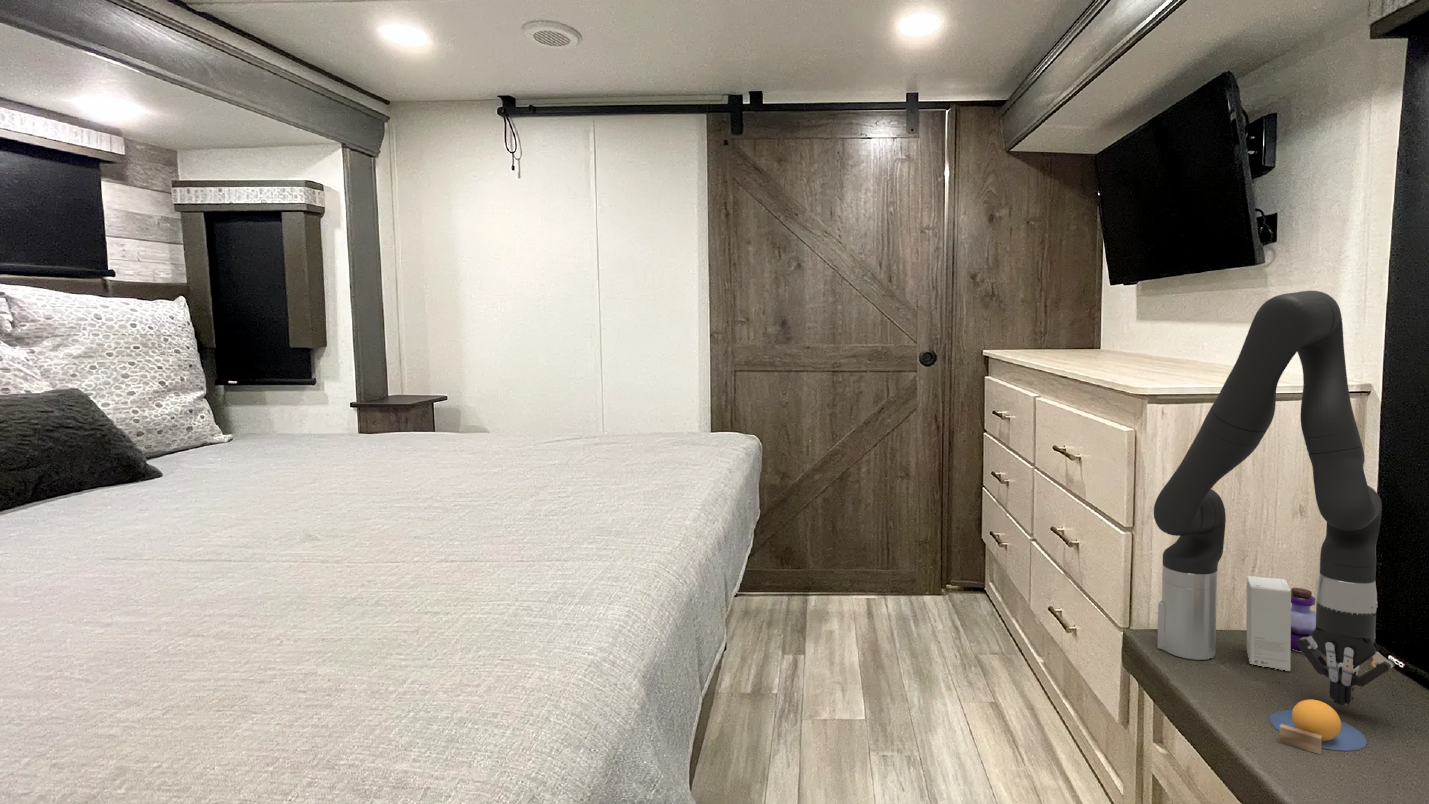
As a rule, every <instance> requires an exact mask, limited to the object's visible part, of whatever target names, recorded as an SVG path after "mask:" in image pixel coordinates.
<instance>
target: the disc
mask: <svg viewBox="0 0 1429 804" xmlns="http://www.w3.org/2000/svg"><path fill="white" fill-rule="evenodd" d="M1292 711H1293V709H1286V710H1285V709H1284V710H1278V711H1276V712H1273V713H1272V714H1271V715H1270V716H1269V721H1270V724H1271V725H1272V726H1273V727H1274V729H1275V730H1277V731H1278V732H1279V730H1280V725H1281V724H1283V725H1287V726H1290V727H1294V728H1296V726H1295V724H1294V722H1293V719H1292ZM1340 721H1341V730H1340V732H1339V734H1338V735H1337V736H1336V737H1335V738H1333V739H1331V740H1328V741H1322V748H1321V749H1324V750H1329V751H1337V752H1355V751H1360V750H1362V749H1364V748H1365V747H1366V746H1367V738H1366V736H1365V735H1364V734H1363V733H1362V732H1361V731H1360V730H1358V729H1357V728H1355V727H1353V726H1352V725H1350V724H1348V723H1346V722H1344V721H1342V720H1340Z"/></svg>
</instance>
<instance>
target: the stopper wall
mask: <svg viewBox="0 0 1429 804" xmlns="http://www.w3.org/2000/svg"><path fill="white" fill-rule="evenodd" d="M1278 732H1279V733H1278V734H1279V735H1278V737H1279V738H1278V742H1279V743H1280V744H1283V745H1287V746H1292V747H1294V748H1298V749H1300V750H1304V751H1307V752H1310V753H1314V754H1317V755H1321V753H1322V749H1323V748H1322V736H1321V735H1318V734H1314V733H1311V732H1308V731H1304V730H1301V729H1297V728H1294V727H1290V726H1287V725H1283V724H1281V725H1280V730H1279V731H1278Z"/></svg>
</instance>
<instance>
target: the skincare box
mask: <svg viewBox="0 0 1429 804" xmlns="http://www.w3.org/2000/svg"><path fill="white" fill-rule="evenodd" d="M1291 605H1292V603H1291V588H1290V586H1289V584H1288V582H1287V580H1286V579H1285V578H1284V579H1282V578H1275V577H1273V578H1272V577H1262V576H1253V575H1247V576H1246V654H1248V655H1247V657H1248V658H1249V659H1248V658H1247V659H1248V662H1249V664H1254V665H1258V666H1262V667H1261V668H1264V667H1270V668H1275V669H1274V670H1277V669H1279V670H1278V671H1283V670H1285V672H1291V651H1292V650H1291ZM1258 666H1257V667H1258ZM1270 668H1269V669H1270Z"/></svg>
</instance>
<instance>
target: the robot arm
mask: <svg viewBox="0 0 1429 804" xmlns="http://www.w3.org/2000/svg"><path fill="white" fill-rule="evenodd" d="M1341 312H1342V311H1341V308H1340V306H1339V304H1338V302H1337V301H1336V300H1335V299H1334V298H1333V297H1332V296H1331V295H1329V294H1328V293H1326V292H1323V291H1319V290H1302V291H1297V292H1296V291H1295V292H1289V293H1283V294H1278V295H1275V296H1273V297H1271V298H1270V299H1268V300H1266V301H1265V302H1264V303H1263V304H1262V305H1261V306H1260V307H1259V308H1258V310H1257V312H1256V313H1255V315H1254V317H1253V320H1252V321H1251V323H1250V327H1249V329H1248V332H1247V334H1246V337H1245V339H1244V342H1243V344H1242V347H1241V350H1240V352H1239V355H1238V357H1237V358H1236V361H1235V364H1234V365H1233V367H1232V369H1231V371H1230V373H1229V375H1228V376H1227V377H1226V380H1225V382H1224V384H1223V386H1222V388H1221V389H1220V391H1219V393H1218V395H1217V397H1216V398H1215V399H1214V402H1213V404H1212V405H1211V407H1210V408H1209V409H1208V412H1207V414H1206V416H1205V418H1204V420H1203V422H1202V424H1201V426H1200V428H1199V430H1198V432H1197V434H1196V436H1195V438H1194V440H1193V441H1192V443H1191V444H1190V447H1189V448H1188V449H1187V452H1186V454H1185V456H1184V457H1183V458H1182V460H1181V463H1180V464H1179V465H1178V467H1177V468H1176V470H1175V471H1174V473H1173V474H1172V476H1171V477H1170V478H1169V480H1168V481H1167V482H1166V484H1165V485H1164V486H1163V488H1162V489H1161V491H1160V492H1159V494H1158V496H1157V498H1156V499H1155V502H1154V506H1153V518H1154V521H1155V524H1156V526H1157V528H1158V529H1159V530H1160V531H1162V532H1163V533H1165V534H1167V535H1170V536H1175V537H1178V538H1177V539H1176V541H1175V542H1174V543H1173V544H1171V545H1170V546H1168V547H1167V548H1165V550H1163V552H1162V566H1161V567H1162V569H1161V570H1162V572H1161V578H1162V579H1161V581H1162V582H1161V600H1160V601H1159V602H1158V604H1157V605H1158V606H1157V649H1159V650H1163V651H1164V652H1166V653H1168V654H1170V655H1173V656H1175V657H1179V658H1183V659H1188V660H1194V661H1195V660H1196V661H1198V660H1199V661H1202V660H1204V661H1206V660H1210V658H1211V659H1213V658H1215V656H1216V646H1217V645H1216V644H1217V643H1216V635H1217V634H1216V633H1217V605H1218V604H1217V602H1218V599H1217V598H1218V565H1219V561H1221V559H1222V556H1223V552H1224V544H1225V535H1226V520H1227V519H1226V517H1227V515H1226V507H1225V504H1224V501H1223V499H1222V497H1221V496H1220V495H1219V493H1217V492H1216V490H1214V489H1212V488H1213V487H1214V486H1215V485H1216V484H1217V483H1218V482H1219V481H1220V480H1221V479H1223V478H1224V477H1225V476H1226V475H1227V474H1228V473H1230V472H1231V471H1233V470H1234V469H1236V467H1237V466H1239V465H1240V464H1241V463H1243V462H1244V461H1245V460H1246V459H1247V458H1248V457H1250V455H1251V454H1252V453H1253V452H1254V451H1255V450H1256V449H1257V447H1258V445H1260V443H1261V441H1262V439H1263V438H1264V436H1265V434H1266V433H1267V431H1268V429H1269V428H1270V426H1271V424H1272V422H1273V419H1274V417H1275V416H1274V415H1275V413H1276V406H1277V405H1276V403H1277V402H1276V399H1277V387H1278V384H1279V381H1280V379H1281V377H1282V375H1283V374H1284V371H1285V370H1286V369H1287V367H1288V365H1289V364H1290V362H1291V361H1292V360H1293V358H1294V356H1295V355H1296V354H1298V357H1299V360H1300V363H1301V367H1302V368H1301V369H1302V376H1303V377H1302V378H1303V379H1302V381H1303V383H1302V386H1303V387H1302V388H1303V389H1302V397H1301V402H1300V403H1301V404H1300V427H1301V431H1302V436H1303V439H1304V444H1305V446H1306V447H1305V448H1306V451H1307V453H1308V457H1309V460H1310V463H1311V467H1312V478H1313V479H1312V480H1313V486H1314V494H1315V501H1316V504H1317V508H1318V510H1319V513H1320V515H1321V516H1322V518H1323V519H1324V521H1325V522H1326V533H1325V539H1324V540H1323V542H1322V545H1321V548H1320V555H1319V556H1320V559H1319V574H1318V575H1319V576H1318V579H1317V580H1318V581H1317V585H1316V601H1315V607H1316V608H1315V612H1316V628H1315V630H1314V631H1313V632H1312V636H1309V637H1303V638H1301V639H1299V640H1297V642H1296V644H1297V645H1298V647H1299V648H1300V649H1301V651H1302V652H1303V653H1302V654H1303V655H1304V657H1306V660H1308V662H1309V663H1310V665H1311V666H1312V667H1313V669H1314V670H1315V671H1316V672H1317V674H1320V675H1323V676H1325V677H1326V678H1327V679H1328V680H1329V697H1330V699H1331V700H1333V704H1336V705H1339V706H1341V707H1346V706H1348V705H1350V704H1352V702H1353V701H1354V700H1355V686H1358V687H1360V688H1361V687H1364V686H1366V685H1368V684H1369V683H1371V682H1373V681H1374V680H1376V679H1377V678H1378V677H1380V676H1381V675H1383V674H1385V673H1386V672H1388V671H1389V670H1391V669H1392V668H1394V667H1395V666H1396V663H1395V662H1394V660H1393V659H1389V658H1388V659H1387V658H1386V657H1385V656H1383V655H1382V654H1381V653H1380V652H1379V646H1378V644H1377V643H1376V642H1377V641H1376V623H1377V621H1376V620H1377V608H1378V592H1377V585H1376V584H1377V583H1376V575H1377V573H1376V571H1377V542H1378V538H1379V532H1380V528H1381V520H1382V509H1383V508H1382V504H1383V503H1382V499H1381V497H1380V495H1379V494H1378V493H1377V491H1376V490H1375V489H1374V488H1373V487H1371V485H1370V486H1369V485H1368V481H1367V478H1366V475H1365V470H1364V464H1365V458H1366V457H1365V451H1364V446H1363V443H1362V440H1361V435H1360V433H1359V430H1358V429H1359V428H1358V425H1357V423H1356V422H1357V421H1356V419H1355V415H1354V410H1353V406H1352V402H1351V397H1350V396H1351V395H1350V390H1349V383H1348V375H1347V374H1348V373H1347V368H1346V367H1347V365H1346V364H1347V363H1346V356H1345V355H1346V354H1345V344H1344V342H1345V341H1344V327H1343V317H1342V313H1341ZM1317 645H1318V646H1317ZM1318 648H1319V649H1320V650H1319V649H1318ZM1320 651H1321V652H1320ZM1323 655H1324V656H1325V657H1326V658H1325V657H1324V656H1323ZM1371 658H1372V661H1371V666H1372V667H1373V668H1371V669H1370V670H1368V671H1367V672H1365V673H1363V674H1362V675H1359V674H1358V673H1359V672H1358V671H1359V670H1360V666H1361V665H1363V664H1364V663H1365V662H1367V661H1368V660H1369V659H1371Z"/></svg>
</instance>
